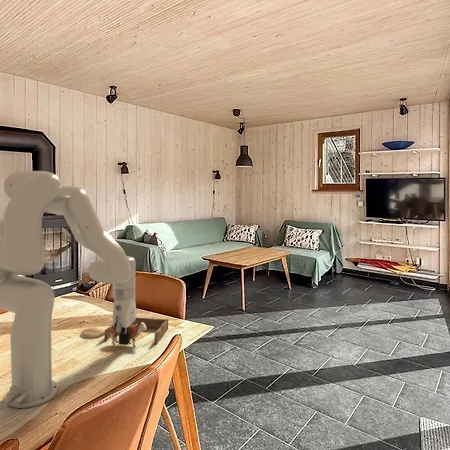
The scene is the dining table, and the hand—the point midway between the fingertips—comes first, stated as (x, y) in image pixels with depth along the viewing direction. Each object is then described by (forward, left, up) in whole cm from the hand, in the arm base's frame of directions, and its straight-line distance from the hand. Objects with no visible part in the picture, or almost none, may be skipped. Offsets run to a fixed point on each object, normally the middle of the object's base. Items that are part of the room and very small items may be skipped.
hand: (124, 343), depth 126 cm
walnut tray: (+14, 0, -2) cm, 14 cm away
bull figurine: (+2, 0, -1) cm, 2 cm away
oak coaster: (+12, +17, -2) cm, 21 cm away
